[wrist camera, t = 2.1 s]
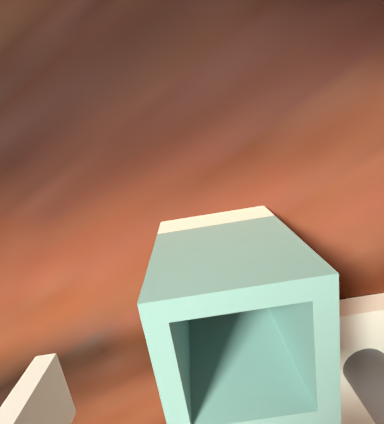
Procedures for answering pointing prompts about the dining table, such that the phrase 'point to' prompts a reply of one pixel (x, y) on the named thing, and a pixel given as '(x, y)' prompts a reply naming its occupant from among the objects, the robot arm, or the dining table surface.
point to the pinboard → (362, 359)
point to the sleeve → (241, 322)
